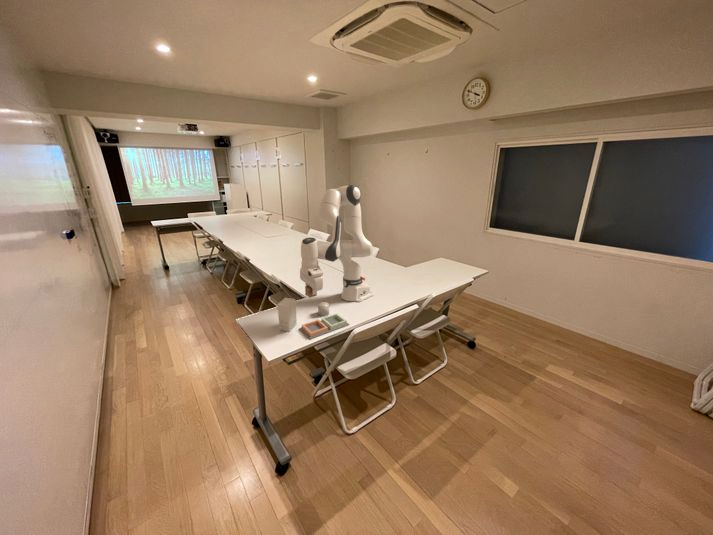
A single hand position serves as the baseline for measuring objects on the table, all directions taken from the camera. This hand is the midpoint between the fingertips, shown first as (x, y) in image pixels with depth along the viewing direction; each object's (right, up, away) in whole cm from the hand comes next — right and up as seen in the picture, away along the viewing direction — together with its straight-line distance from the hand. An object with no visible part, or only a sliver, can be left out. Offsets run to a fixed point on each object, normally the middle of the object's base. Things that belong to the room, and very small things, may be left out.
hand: (311, 292), depth 150 cm
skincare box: (-12, -19, -3) cm, 22 cm away
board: (+8, -19, -2) cm, 20 cm away
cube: (0, -2, +1) cm, 2 cm away
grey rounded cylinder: (+5, -14, +12) cm, 19 cm away
